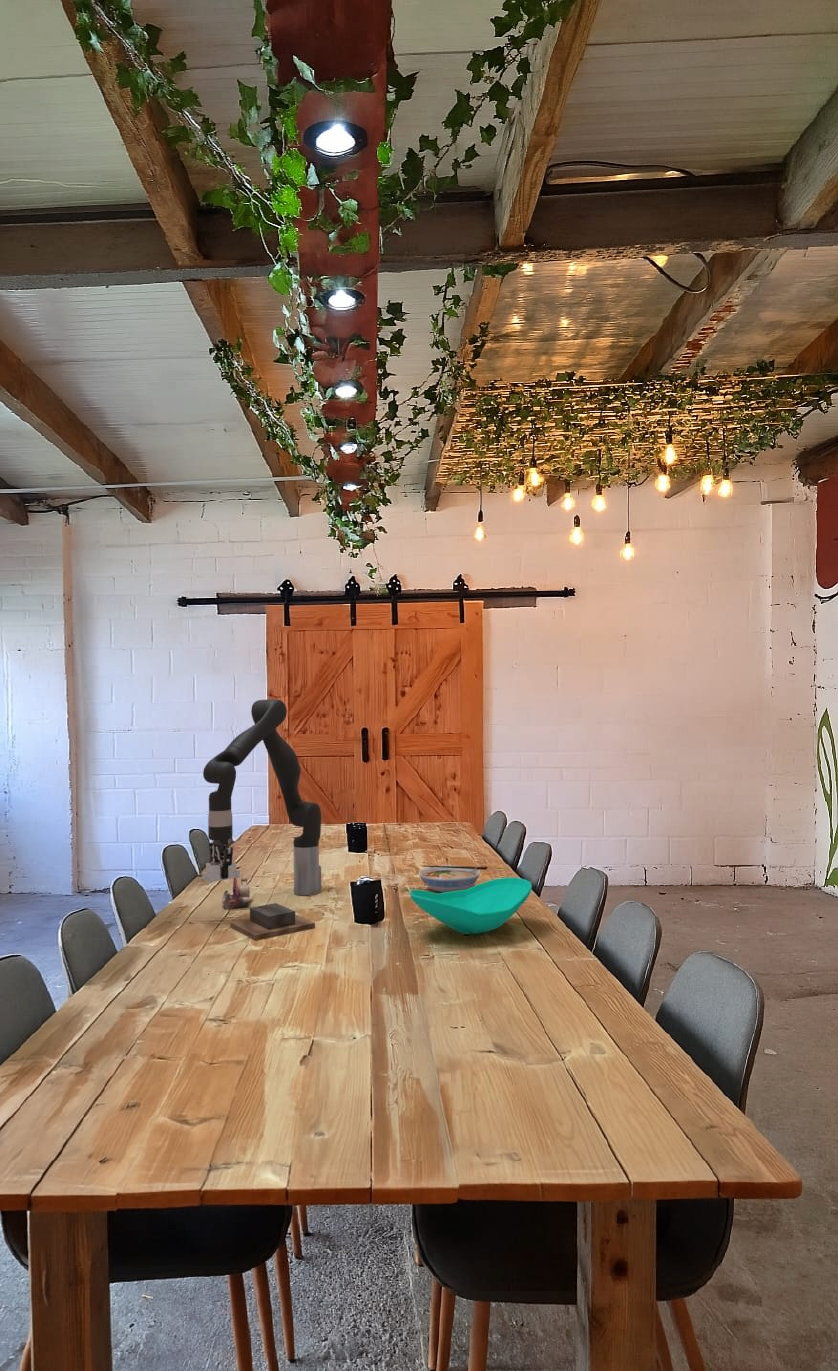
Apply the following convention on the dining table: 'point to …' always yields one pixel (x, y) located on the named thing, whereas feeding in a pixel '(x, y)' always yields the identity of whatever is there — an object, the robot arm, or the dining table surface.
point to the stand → (271, 922)
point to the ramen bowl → (450, 877)
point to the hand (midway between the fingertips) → (221, 876)
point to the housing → (219, 872)
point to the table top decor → (475, 904)
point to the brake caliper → (237, 896)
